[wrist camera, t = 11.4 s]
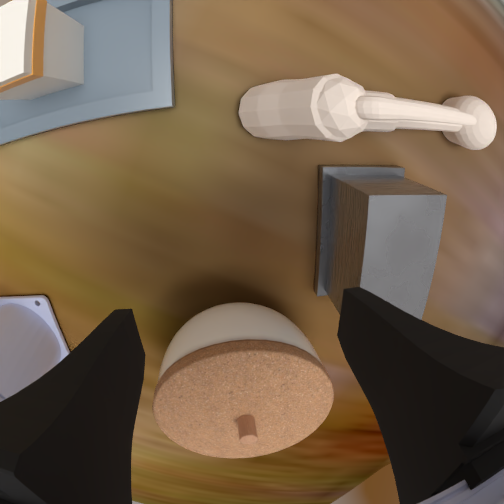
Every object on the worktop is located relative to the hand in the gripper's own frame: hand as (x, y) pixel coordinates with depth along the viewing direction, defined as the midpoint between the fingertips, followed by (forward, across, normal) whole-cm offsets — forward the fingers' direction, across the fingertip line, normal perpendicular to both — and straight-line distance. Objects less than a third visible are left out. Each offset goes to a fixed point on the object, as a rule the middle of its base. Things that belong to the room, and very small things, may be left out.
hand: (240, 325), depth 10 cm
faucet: (+11, -10, -7) cm, 17 cm away
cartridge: (+10, +10, -12) cm, 18 cm away
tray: (+10, +10, -12) cm, 19 cm away
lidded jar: (+11, 0, +9) cm, 14 cm away
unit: (+10, -9, +1) cm, 14 cm away
